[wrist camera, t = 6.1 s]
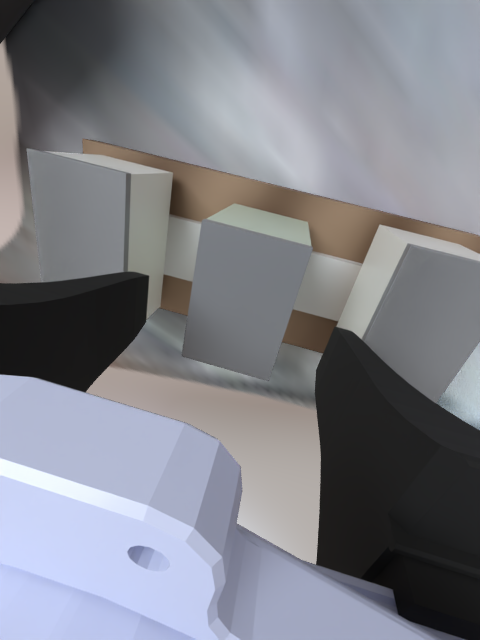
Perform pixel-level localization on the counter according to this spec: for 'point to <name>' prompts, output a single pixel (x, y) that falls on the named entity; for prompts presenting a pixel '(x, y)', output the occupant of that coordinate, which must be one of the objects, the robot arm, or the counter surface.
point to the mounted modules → (361, 307)
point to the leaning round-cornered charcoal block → (11, 14)
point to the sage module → (245, 288)
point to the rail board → (320, 212)
